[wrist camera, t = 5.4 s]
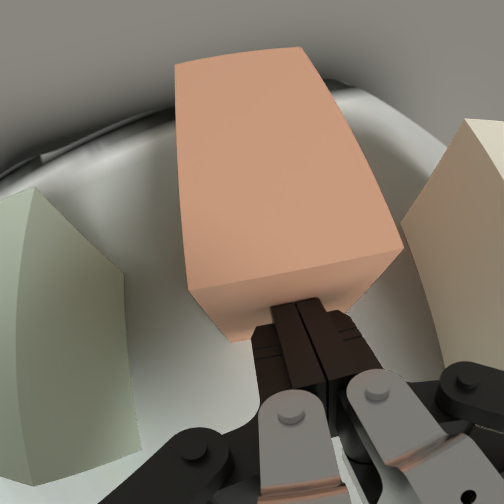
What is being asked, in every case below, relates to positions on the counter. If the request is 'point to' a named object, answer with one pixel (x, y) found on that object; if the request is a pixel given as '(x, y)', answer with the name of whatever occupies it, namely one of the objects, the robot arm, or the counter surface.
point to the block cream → (464, 244)
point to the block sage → (59, 348)
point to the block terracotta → (273, 191)
